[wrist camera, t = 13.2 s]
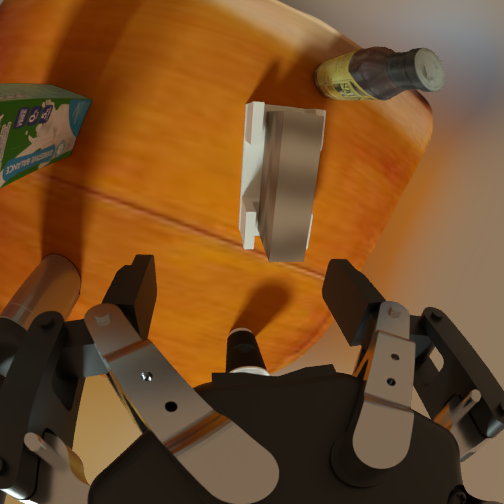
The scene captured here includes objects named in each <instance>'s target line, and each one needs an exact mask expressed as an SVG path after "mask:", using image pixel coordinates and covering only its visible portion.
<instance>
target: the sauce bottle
mask: <svg viewBox="0 0 504 504" xmlns="http://www.w3.org/2000/svg"><path fill="white" fill-rule="evenodd" d="M314 82H315V85H316V87H317V89H318V90H319V91H320V92H321V93H322V94H323V95H325V96H326V97H328V98H331V99H335V100H389V99H391V98H392V97H394V96H396V95H397V94H399V93H401V92H403V91H405V90H410V89H420V90H422V91H425V92H435V91H438V90H440V89H441V88H442V87H443V85H444V82H445V72H444V67H443V65H442V63H441V60H440V59H439V57H438V56H437V55H436V54H435V53H434V52H433V51H431V50H429V49H427V48H417V49H412V50H410V51H409V52H402V53H400V52H398V53H396V52H394V51H393V50H391V49H388V48H386V47H371V48H367V49H360V50H357V51H353V52H350V53H347V54H344V55H341V56H338V57H335V58H332V59H329V60H326V61H325V62H323V63H322V64H320V65H319V66H318V67H317V69H316V71H315V73H314Z"/></svg>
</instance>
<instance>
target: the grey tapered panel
mask: <svg viewBox="0 0 504 504" xmlns="http://www.w3.org/2000/svg"><path fill="white" fill-rule="evenodd" d="M323 123H324V116H320V115H314V114H307V113H300V112H292V111H267V113H266V126H265V139H264V151H263V164H262V176H261V189H260V201H259V214H258V226H257V229H258V232H259V235H260V238H261V241H262V243H263V246H264V249H265V252H266V255H267V257H268V260H269V262H303V261H304V256H305V251H306V245H307V239H308V233H309V227H310V221H311V215H312V208H313V202H314V195H315V188H316V181H317V174H318V166H319V158H320V150H321V142H322V133H323Z"/></svg>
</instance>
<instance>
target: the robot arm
mask: <svg viewBox="0 0 504 504" xmlns="http://www.w3.org/2000/svg"><path fill="white" fill-rule="evenodd" d="M80 286H81V279H80V276H79V273H78V271H77V269H76V268H75V266H74V265H73V264H72V263H71V262H70V261H69V260H68V259H66V258H65V257H63V256H61V255H57V254H51V255H48V256H46V257H45V258H44V259H43V260H42V261H41V263H40V264H39V265H38V266H37V267H36V268H35V270H34V271H33V272H32V273H31V274H30V276H29V277H28V278H27V279H26V280H25V282H24V283H23V284H22V285H21V287H20V288H19V289H18V291H17V292H16V293H15V295H14V296H13V297H12V299H11V300H10V301H9V303H8V304H7V305H6V307H5V308H4V310H3V311H2V313H1V314H0V504H4V502H5V497H6V493H7V494H9V495H10V496H11V497H13V498H15V499H16V500H19V501H21V502H23V503H25V504H502V503H499V502H494V501H483V500H480V499H477V498H475V497H473V496H471V495H469V494H468V493H467V491H466V490H465V488H464V485H463V481H462V476H461V468H460V462H463V461H465V460H466V459H467V458H469V457H470V456H472V455H473V454H474V453H476V452H477V451H478V450H479V449H481V448H482V447H483V446H484V445H486V444H487V443H488V442H489V441H491V440H492V439H493V438H494V437H495V436H496V435H497V434H499V433H500V432H501V431H502V430H503V429H504V391H503V389H502V388H501V386H500V385H499V383H498V382H497V380H496V379H495V377H494V376H493V375H492V373H491V372H490V370H489V369H488V367H487V366H486V365H485V363H484V362H483V361H482V359H481V358H480V357H479V356H478V354H477V353H476V351H475V350H474V349H473V348H472V346H471V345H470V344H469V342H468V341H467V340H466V339H465V337H464V336H463V335H462V334H461V332H460V331H459V330H458V329H457V327H456V326H455V325H454V324H453V323H452V322H451V320H450V319H449V318H448V317H447V316H446V315H445V313H443V312H442V311H441V310H439V309H436V308H433V307H427V308H425V309H424V311H423V313H422V315H421V316H413V315H410V314H409V312H408V310H407V309H406V308H405V307H404V306H403V305H401V304H399V303H397V302H393V301H386V300H385V299H384V297H383V296H382V295H381V294H380V293H379V292H378V290H377V289H376V288H375V287H374V286H373V285H372V283H370V282H369V280H368V279H367V278H366V276H365V275H364V274H362V273H361V272H359V271H358V270H356V269H355V268H354V267H353V266H352V265H351V263H350V262H349V261H348V260H347V259H331V260H330V262H329V264H328V268H327V272H326V276H325V280H324V284H323V288H322V296H323V299H324V301H325V303H326V305H327V306H328V308H329V310H330V311H331V313H332V315H333V317H334V318H335V320H336V322H337V324H338V325H339V327H340V329H341V331H342V333H343V334H344V336H345V338H346V340H347V342H348V343H349V345H350V346H357V345H361V346H362V347H361V349H360V352H359V354H358V358H357V361H356V364H355V367H354V370H353V373H352V375H349V374H344V373H338V372H336V371H335V369H334V367H333V365H332V364H329V365H321V366H315V367H314V366H313V367H305V368H303V369H300V370H297V371H294V372H291V373H288V374H285V375H281V376H267V375H260V374H253V373H246V372H231V373H212V382H209V383H205V384H202V385H199V386H197V387H194V388H192V387H191V386H190V385H189V384H188V383H187V382H186V381H185V380H184V379H183V378H182V377H181V375H180V374H179V373H178V372H177V371H176V370H175V369H174V368H173V366H172V365H171V364H170V363H169V362H168V361H167V360H166V358H165V357H164V356H163V355H162V354H161V352H160V351H159V350H158V349H157V348H156V346H155V345H154V344H153V343H152V342H151V341H150V340H149V339H147V338H148V333H149V328H150V324H151V319H152V315H153V310H154V306H155V302H156V297H157V284H156V273H155V262H154V256H153V255H141V254H137V255H136V256H135V258H134V260H133V263H132V265H125V266H123V267H122V268H121V269H120V270H118V271H117V273H116V275H115V277H114V280H113V281H112V283H111V286H110V287H109V289H108V291H107V293H106V295H105V297H104V299H103V301H102V303H101V304H99V305H96V306H93V307H92V308H90V309H89V310H88V311H87V312H86V314H85V317H84V319H81V320H74V321H67V319H68V317H69V315H70V313H71V311H72V309H73V307H74V305H75V304H76V302H77V300H78V298H79V290H80ZM66 321H67V322H66ZM435 347H436V348H437V349H438V351H439V352H440V354H441V355H442V357H443V359H444V365H443V368H442V369H441V370H440V372H439V371H438V370H437V368H436V367H435V365H434V364H433V362H432V360H431V359H430V357H429V356H430V354H431V352H432V351H433V349H434V348H435ZM102 374H105V375H106V376H107V378H108V380H109V382H110V383H111V385H112V387H113V389H114V390H115V392H116V394H117V395H118V397H119V398H120V400H121V402H122V403H123V405H124V406H125V408H126V410H127V411H128V413H129V414H130V416H131V418H132V420H133V421H134V423H135V424H136V426H137V427H138V429H139V430H140V431H141V433H142V435H141V436H140V437H139V438H138V439H137V440H135V442H134V443H132V444H131V445H130V446H129V447H128V448H127V449H126V450H125V451H124V452H123V453H122V454H121V455H120V456H119V457H117V458H116V459H115V460H114V461H113V462H112V463H111V464H110V465H109V466H108V467H107V468H105V469H104V470H103V471H102V472H101V473H100V474H99V475H98V476H97V477H96V478H95V479H94V481H93V482H92V484H91V486H90V485H89V484H88V482H87V480H86V478H85V475H84V467H83V463H82V461H81V459H80V458H79V456H78V455H77V454H76V453H75V452H74V451H72V447H73V440H74V432H75V426H76V421H77V415H78V410H79V405H80V400H81V396H82V390H83V386H84V382H85V378H86V377H88V376H95V375H102ZM5 376H6V377H5ZM413 386H414V387H415V389H416V391H417V393H418V395H419V397H420V398H421V400H422V402H423V404H424V406H425V408H426V410H427V412H428V414H429V416H430V418H431V419H429V418H427V417H425V416H423V415H421V414H420V413H418V412H416V411H414V410H412V409H411V399H412V390H413Z"/></svg>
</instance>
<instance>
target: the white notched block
mask: <svg viewBox="0 0 504 504" xmlns="http://www.w3.org/2000/svg"><path fill="white" fill-rule="evenodd" d="M264 103H265V102H254V101H253V102H251V103H248V104H246V109H245V124H244V140H243V156H242V173H241V191H240V210H239V230H240V233H241V237H242V242H243V246H244V249H254V236H260V235H259V232H258V229H257V226H258V214H259V201H260V189H261V176H262V164H263V151H264V139H265V126H266V113H267V111H292V112H300V113H307V114H314V115H320V116H324V123H323V133H322V142H321V150H320V151H322V145H323V136H324V127H325V117H326V110H321V109H303V108H295V107H287V106H278V105H268V104H264ZM312 218H313V213H312V215H311V221H310V227H309V233H308V239H307V245H306V249H307V247H308V242H309V236H310V230H311V224H312Z"/></svg>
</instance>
